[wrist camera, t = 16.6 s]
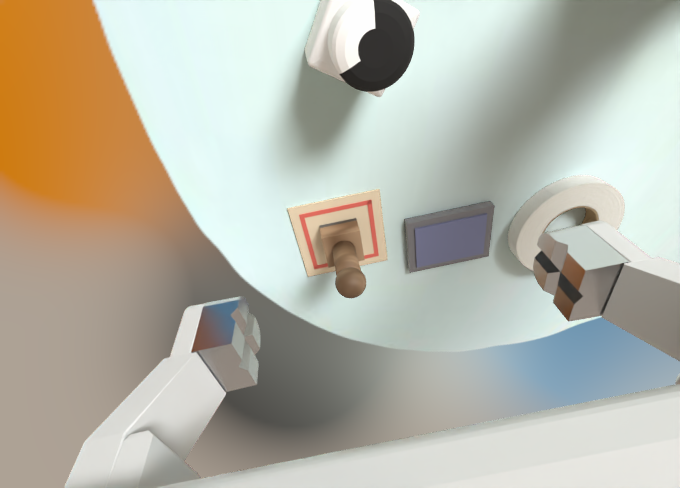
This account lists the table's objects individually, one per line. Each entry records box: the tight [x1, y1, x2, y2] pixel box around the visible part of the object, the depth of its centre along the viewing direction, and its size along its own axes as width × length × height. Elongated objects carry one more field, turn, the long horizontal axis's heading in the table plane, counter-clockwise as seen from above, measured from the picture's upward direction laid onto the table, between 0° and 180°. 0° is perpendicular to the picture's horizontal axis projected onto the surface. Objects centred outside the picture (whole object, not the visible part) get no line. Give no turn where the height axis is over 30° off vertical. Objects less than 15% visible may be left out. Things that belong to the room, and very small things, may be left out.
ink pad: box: [405, 201, 494, 273], centre depth 51 cm, size 12×9×2 cm
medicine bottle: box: [305, 0, 420, 97], centre depth 30 cm, size 7×7×12 cm
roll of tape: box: [508, 175, 625, 271], centre depth 52 cm, size 16×15×3 cm
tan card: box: [287, 189, 387, 277], centre depth 49 cm, size 12×12×1 cm
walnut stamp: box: [320, 218, 366, 298], centre depth 45 cm, size 5×5×11 cm
